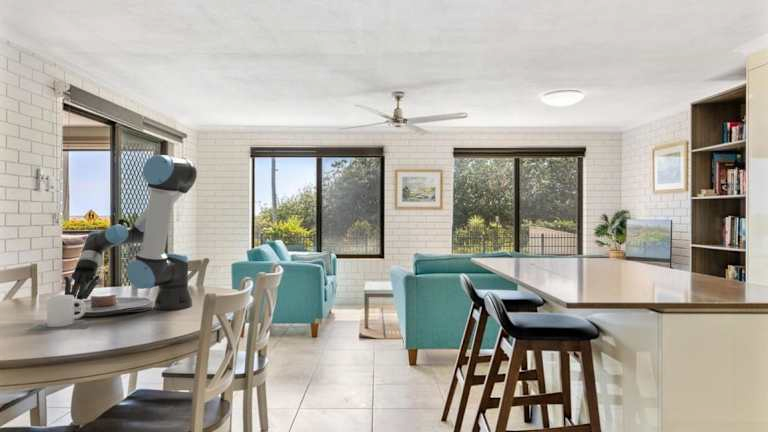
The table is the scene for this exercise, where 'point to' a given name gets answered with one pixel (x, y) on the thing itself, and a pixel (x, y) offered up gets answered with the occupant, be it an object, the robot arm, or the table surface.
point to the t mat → (74, 326)
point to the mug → (62, 310)
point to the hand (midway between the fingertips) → (69, 313)
